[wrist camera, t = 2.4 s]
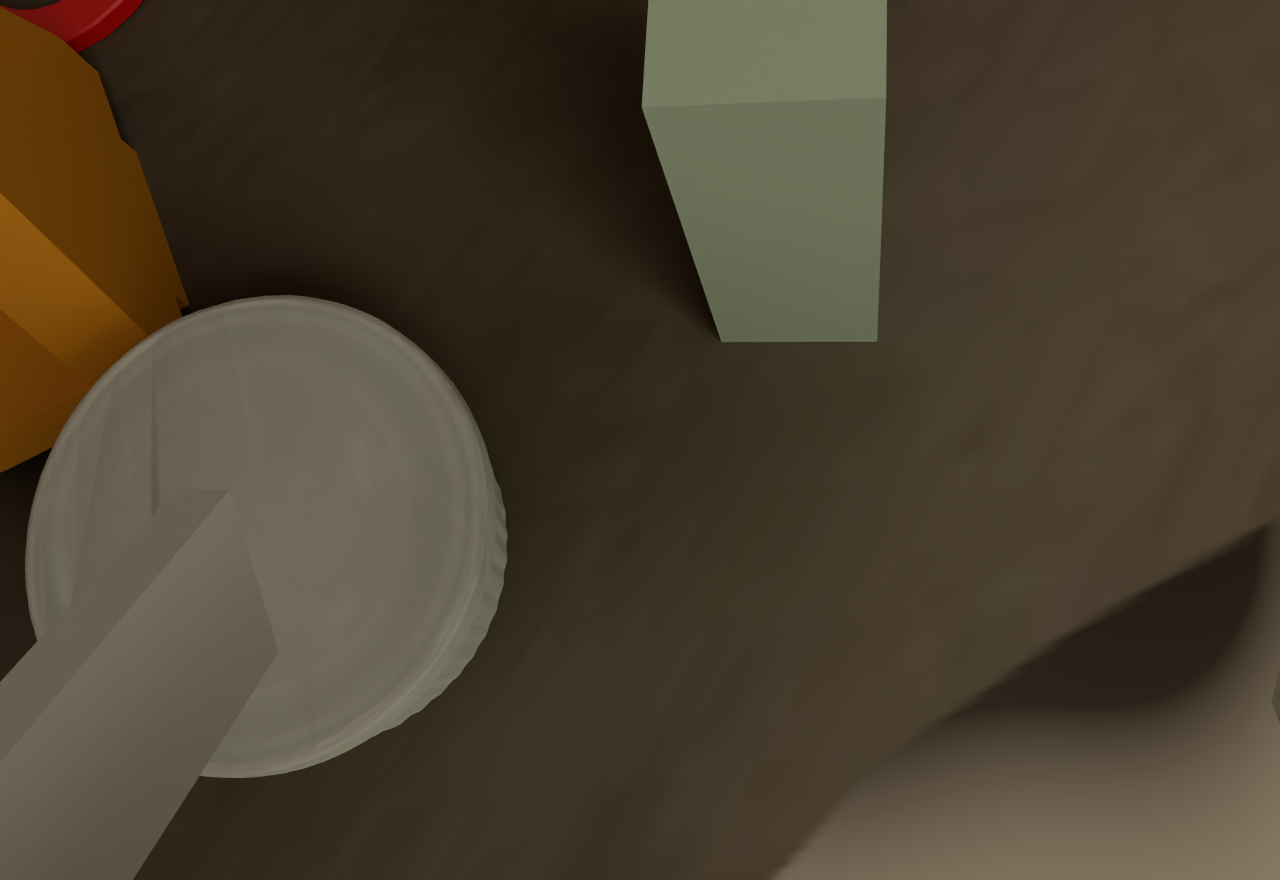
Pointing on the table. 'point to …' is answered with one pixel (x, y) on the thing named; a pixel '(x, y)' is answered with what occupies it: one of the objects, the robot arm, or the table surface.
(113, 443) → the ramekin
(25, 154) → the bracket
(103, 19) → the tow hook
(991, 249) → the table surface
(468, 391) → the table surface
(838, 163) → the peg
